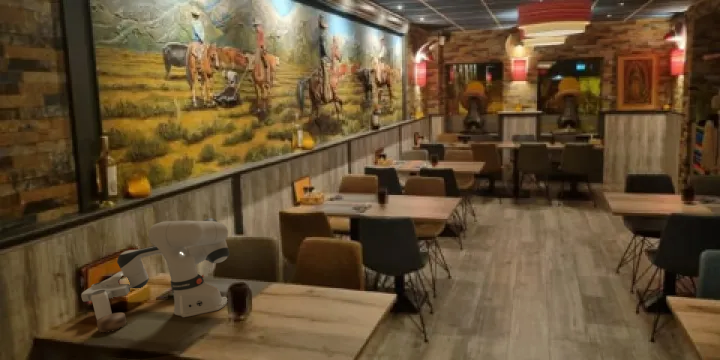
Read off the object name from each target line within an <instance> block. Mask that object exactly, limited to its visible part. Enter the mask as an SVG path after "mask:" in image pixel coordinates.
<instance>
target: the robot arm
mask: <svg viewBox="0 0 720 360" xmlns="http://www.w3.org/2000/svg"><path fill="white" fill-rule="evenodd" d="M228 235H229V230H228V227H227V226H226V224H224V223H223V222H219V221H218V220H216V219H215V218H212V217H210V218H209V217H208V218H205V219H203V220H186V219H185V220H169V221H168V220H167V221H161V222H157V223H154V224H153V225H151V227H150V228H149V230H148V240H149V242H150V243H151V245H152V246H147V247H144V248H138V249H129V250H124V251H123V252H121V253H119V255H118V257H117V259H116V263H117V266H118V267H119V268H120V271H118V272H117V273H114V274H113V275H112V276H111V277H109V278H107V279H105V280H102V281H100V282H95V283H93V284H92V285H91V287H89V288H87V289H86V290H84V291H83V292H81V296H80V297H81V300H82V302H92V293H93V292H95V291H98V290H106V292H107V295H108V298H109V299H111V298H112V299H114V298H113V297H116V298H119V297H123V296H126V295H128V294H129V293H130V292H131V291H130V288H140V289H142V288H143V287H145V286H146V285H147V284H148V282H149V280H150V278H149V277H150V276H149V275H148V272H147V269H146V268H145V265H144V263H143V260H142V258H146V257H151V256H154V255H162V256H163V258H164V260H165V262H166V265H167V269H168V272H169V275H170V287H171V291H172V294H173V299H174V300H173V301H174V307H173V308H174V309H173V314H174V315H175V316H179V317H181V318H188V317H191V316H196V315H202V314H206V313H211V312H216V311H220V310H221V309H223V308H224V307H225V306H226V305H227V303H228V301H227V300H228V298H227V297H226V296H222V295H221V292H220V289H218V288H217V287H216V286H213V285H211V284H209V283H207V282H205V280H204V278H205V276H204V275H205V274H202V275H201V274H199V272H198V269H197V265H199V264H201V263H203V262H205V261H208V262H209V263H211V264H219V263H222V262H224V261H225V260H227V259H228V258H229V257H230V249H229V247H228V243H227V241H226V240H227V238H228ZM122 276H124V277H127V278H128V280H129V282H130V285H129V284H120V285H119V283H118V280H119V279H120V278H121V277H122ZM141 287H142V288H141Z"/></svg>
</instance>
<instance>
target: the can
mask: <svg viewBox="0 0 720 360" xmlns="http://www.w3.org/2000/svg"><path fill="white" fill-rule="evenodd" d="M109 299H110V298H108V295H107V292H106V290H98V291H95V292H93V293H92V301H91V302H92V305H93V310H94V311H93V312H94V314H95V318H96V321H97V320H98V319H100V318H102V317H104V316H106V315H109V314H113V313H112V308H111V303H110V300H109Z"/></svg>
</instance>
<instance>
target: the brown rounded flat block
mask: <svg viewBox="0 0 720 360" xmlns="http://www.w3.org/2000/svg"><path fill="white" fill-rule="evenodd" d="M126 322H127V318H126V314H125V312H113V313H112V314H109V315H106V316H104V317H102V318H100V319H98V320H97V319H96V326H97V329H98V333H101V332H106V333H109V332H108V331H112V330H115V331H117V330H116V329H118V328H120V327H122V326H124V325H125V324H126ZM126 325H127V324H126ZM126 325H125V326H126ZM125 326H124V327H125ZM122 328H123V327H122ZM120 329H121V328H120ZM118 330H119V329H118ZM112 332H113V331H112Z"/></svg>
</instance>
